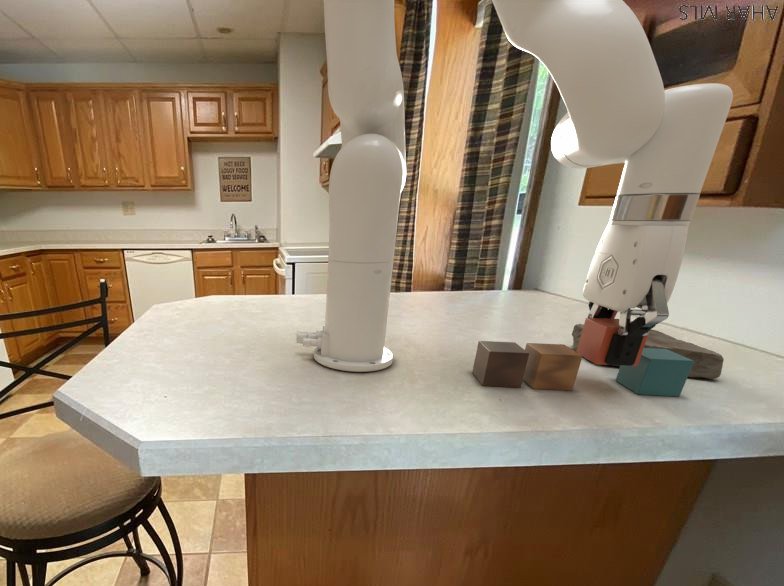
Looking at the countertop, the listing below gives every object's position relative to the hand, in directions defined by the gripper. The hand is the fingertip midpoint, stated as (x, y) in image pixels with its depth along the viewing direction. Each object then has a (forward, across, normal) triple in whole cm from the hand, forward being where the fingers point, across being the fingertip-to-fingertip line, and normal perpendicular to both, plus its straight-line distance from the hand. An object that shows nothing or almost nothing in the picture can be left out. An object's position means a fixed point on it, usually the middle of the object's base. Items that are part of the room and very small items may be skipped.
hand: (606, 355), depth 57 cm
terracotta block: (0, 0, 0) cm, 0 cm away
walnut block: (+4, 0, -13) cm, 14 cm away
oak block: (+4, 0, -7) cm, 8 cm away
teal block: (+4, 0, +6) cm, 8 cm away
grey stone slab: (+5, -13, +12) cm, 18 cm away
